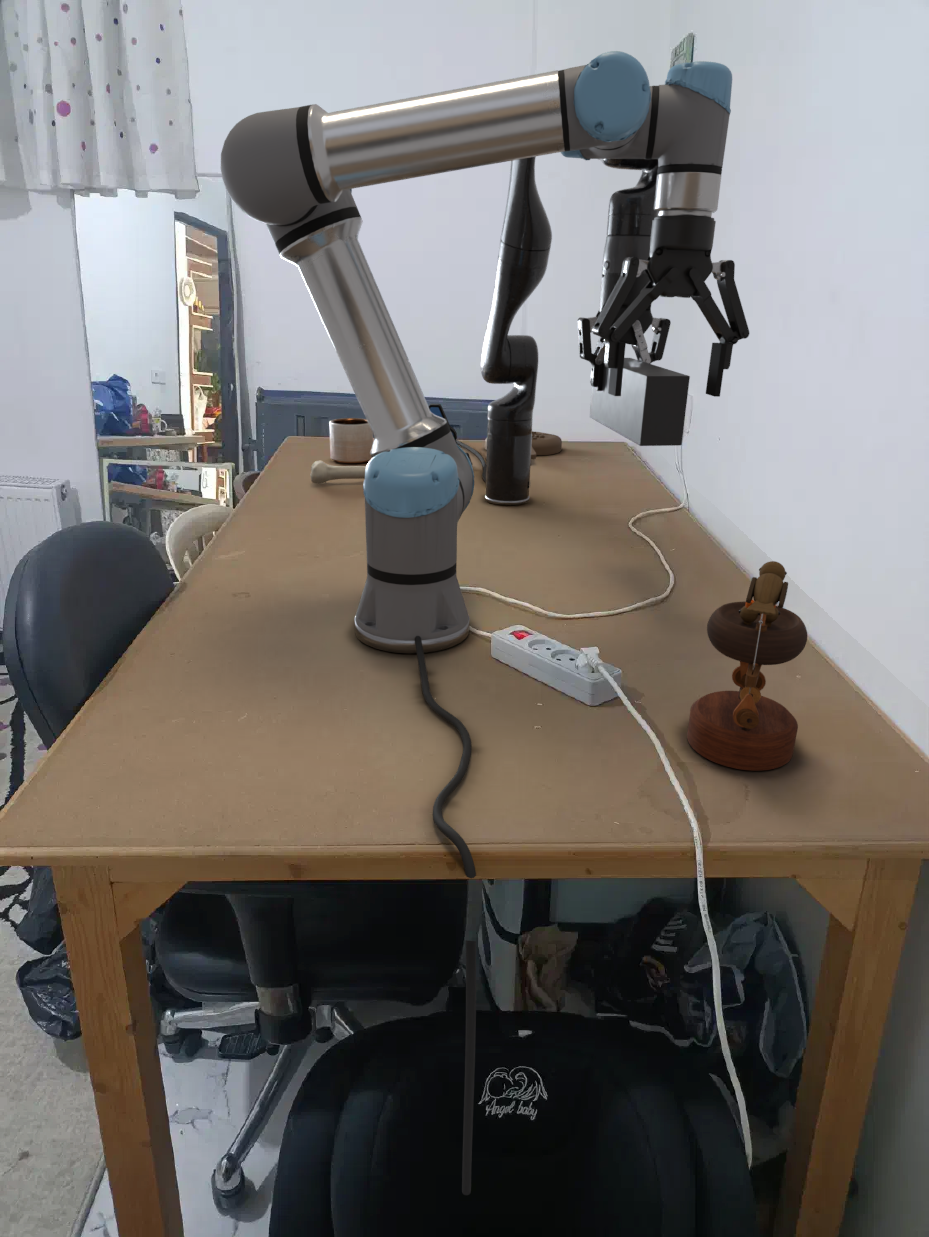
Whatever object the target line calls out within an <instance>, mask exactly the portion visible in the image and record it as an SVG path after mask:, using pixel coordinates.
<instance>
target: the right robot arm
mask: <svg viewBox="0 0 929 1237" xmlns="http://www.w3.org/2000/svg"><path fill="white" fill-rule="evenodd" d="M536 157H537V156H535V157H530V158H524V159H518V160H512V161H510V170H509V182H508V190H507V197H506V205H505V211H504V216H503V222H502V228H501V235H500V240H499V247H498V255H497V261H496V262H497V263H496V272H495V279H494V280H495V281H494V286H493V294H492V300H491V305H490V310H489V315H488V319H487V323H486V328H485V333H484V338H483V342H482V346H481V352H480V372H481V373H480V374H481V377H482V379H483V380H484V382H486V383H488V384H492V385H502V384H503V385H509V384H513V385H512V388H511V389H510V391H509V392H508V393H506V394H505V395H503V396H501V397H499V398H497V399H495V400H493V401H491V402H489V403H488V405H487V415H486V416H487V417H486V418H487V422H486V438H487V450H486V458H484V456H483V455H481V453H479V451H477V450H476V449H475V448H473V447H471V445H470V446H469V445H468V444H466V443H464V442H462V441H460V440H458V439H456V441H457V444H458V446H459V447H461V448H464V449H466V450H468V451H470V452H471V453H473V455H475V456H476V457H477V458H478V459H479V460H480V462H481V465H482V474H481V477H482V479H483V481H484V483H485V494H484V500H485V502H487V503H490V504H494V505H500V506H520V505H524V504H527V503H529V502H530V486H531V481H532V480H531V462H532V461H531V460H532V459H531V443H532V432H533V417H534V414H533V413H534V408H535V403H536V393H537V381H538V372H539V348H538V347H539V346H538V343H537V341H536V339H535V337H533V336H531V335H528V334H509V333H510V329H511V326H512V323H513V322H514V319H515V317H516V315H517V313H518V312H519V310H520V309H521V308H522V306H523V305H524V304H525V302H526V301H527V300H528V299H529V298H530V296H532V294H533V293H534V291H536V289H537V287H538V286H539V284H541V282H542V281H543V278H544V277H545V274H546V272H547V268H548V264H549V258H550V254H551V253H550V252H551V249H552V248H551V247H552V242H553V231H552V226H551V223H550V220H549V217H548V214H547V212H546V210H545V207H544V204H543V202H542V199H541V197H540V193H539V191H538V187H537V182H536V171H535V170H536V159H537V158H536ZM598 161H600V162H601V163H602V164H603V165H604V166H605V167H608V168H612V169H616V170H629V171H641V174H640V176H639V179H638V182H637V183H636V184H635V186H633V187H628V188H623V189H619V190H617V191H614V192H613V193H612V194H611V195H610V198H609V202H608V209H607V210H608V212H607V222H606V223H607V225H606V238H605V243H604V248H603V254H602V266H601V279H600V280H601V281H600V292H599V294H600V295H599V308H598V310H597V313H596V315H595V316H590V317H584V316H582V317H579V318H578V319H577V321H576V324H577V339H578V340H577V341H578V354H579V358H580V359H582V360H585V361H586V362H589V363H590V380H589V383H590V386H591V387H592V386H593V387H594V390H596V391H601V390H602V383H603V370H604V366H603V365H602V363H603V361H604V357H605V346H606V342H605V340H604V338H602V337H600V336H599V339H598V341H597V343H596V346H595V349H594V350H593V351H592V337H591V336H592V335H591V333H593V332H592V328H593V326H594V324H595V322H596V321H597V319H598V317H599V315H600V313H601V311H602V309H603V308H604V306H605V304H606V302H607V300H608V298H609V296H610V295H611V293H612V291H613V289H614V287H615V285H616V283H617V282H618V280H619V278H620V276H621V271H622V266H623V261H624V259H625V258H626V257H637V258H638V259H641V260H647V259H648V257H649V254H650V240H651V230H652V220H654V218H655V217H658V212H656V211H655V210H654V202H655V192H656V182H657V172H658V159H598ZM649 281H650V280H649V278H648V276H647V274H646V272H645V270H643V271H642V273H641V275H640V276H639V277H636V279H635V282H634V284H633V286H632V288H631V290H630V292H629V293H628V295H627V297H626V299H625V301H624V303H623V304H622V306H621V308H620V310H619V312H618V314H617V315H616V317H615V319H614V321H613V323H612V325H613V324H614V323H615V322H616V321H617V320H618V318H619V317H620V316H621V315H622V314H623V313H624V311H625V310H626V309H627V308H628V307H629V306H630V305H631V303H632V302H633V301H634V300H635V299H636V298H637V296H638V295H639V294H640V292H641V290H642V289H643V288H644V287H645V285H646V284H647V283H648V282H649ZM652 304H653V302H652V303H651V304H650V305H649V307H648V308H647V309H646V310H645V311H644V312H643V314H642V315H641V316H640V317H639V318H638V319H637V320H636V322H635V323H634V324H633V325H632V326H631V327H630V328H629V330H628V331H627V332H626V333H625V334H624V335H623V336H622V338H621V339H620V340H619V341H620V342H624V343H626V344H627V345H631V348H632V350H633V351H634V354H635V357H636V360H639V361H642V362H645V363H649V364H652V363H654V362H657V361H661V360H662V359H663V357H664V353H665V349H666V345H667V341H668V340H667V339H668V335H669V332H670V327H671V325H672V324H671V319H669V318H665V317H654V316H653V313H652ZM612 325H611V326H612ZM611 326H610V328H611ZM650 327H651V328H652V329H651V330H652V332H653V337H652V341H651V345H650V349H648V343H647V341H646V337H645V335H644V334H645V333H646V332H647V331H648V329H649V328H650ZM610 328H609V329H610ZM485 459H486V461H485Z"/></svg>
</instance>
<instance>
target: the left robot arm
mask: <svg viewBox="0 0 929 1237" xmlns="http://www.w3.org/2000/svg"><path fill="white" fill-rule="evenodd" d="M732 87H733V73H732V71H731V69H730V68H729V67H728V66H727V65H726V64H724V63H721V62H716V61H704V60H703V61H701V60H699V61H698V60H697V61H692V62H687V61H686V62H682V63H678V64H674V65H673V66H671V67H670V68H669V70H668V71H667V75H666V79H665V81H664V84H658V85H650V80H649V78H648V74H647V71H646V69H645V68H644V66H643V64H642V62H640V61H639V60H638V59H637V58H636V57H634V56H633V55H631V54H629V53H627V52H624V51H618V50H611V51H607V52H603V53H601V54H599V55H597V56H596V57H595V58H593V59H591V60H590V61H589V63H586V64H584V65H579V66H573V67H568V68H564V69H560V70H552V71H546V72H540V73H536V74H530V75H525V76H520V77H519V76H518V77H514V78H509V79H503V80H498V81H493V82H487V83H482V84H476V85H471V86H466V87H460V88H455V89H450V90H444V91H439V92H433V93H427V94H423V95H417V96H411V97H406V98H400V99H395V100H389V101H383V102H379V103H374V104H369V105H363V106H358V107H354V108H353V107H352V108H347V109H342V110H337V111H336V110H335V111H331V112H327V111H326V110H325V109H324V108H323V107H321V105H319V104H317V103H313V104H308V105H303V106H296V107H290V108H282V109H281V108H280V109H273V110H267V111H260V112H256V113H255V112H254V113H252V114H250V115H248V116H245V117H244V118H242V119H240V120H239V121H238V122H237V123H235V125H234V126H233V127H232V128H231V129H230V130H229V132H228V134H227V136H226V138H225V140H224V142H223V145H222V149H221V152H220V173H221V178H222V182H223V185H224V188H225V190H226V192H227V194H228V196H229V198H230V199H231V201H232V202H233V203H234V204H235V206H236V207H237V208H238V209H239V210H240V211H241V212H242V213H244V214H245V215H246V216H248V217H249V218H250V219H253V221H256V222H259V223H261V224H265V226H266V229H267V230H268V233H269V235H270V237H271V239H272V241H273V243H274V245H275V248H276V250H277V252H278V254H279V256H280V258H281V259H283V260H285V261H287V262H289V263H291V264H293V265H295V266H296V267H298V270H299V272H300V274H301V277H302V279H303V281H304V283H305V286H306V288H307V291H308V292H309V294H310V297H311V300H312V301H313V304H314V306H315V308H316V311H317V312H318V315H319V317H320V320H321V322H322V324H323V325H324V328H325V330H326V333H327V335H328V337H329V339H330V342H331V344H332V345H333V348H334V350H335V353H336V355H337V357H338V359H339V361H340V364H341V366H342V368H343V370H344V372H345V375H346V378H347V379H348V382H349V384H350V386H351V388H352V391H353V393H354V395H355V397H356V399H357V402H358V404H359V406H360V408H361V411H362V413H363V415H364V417H365V419H367V422H368V424H369V426H370V428H371V431H372V433H373V445H372V448H371V451H370V455H371V457H372V459H371V460H370V461H368V463H367V464H366V465H365V466H366V469H365V479H364V480H363V485H362V489H363V490H362V493H363V496H364V515H365V516H364V517H365V518H364V520H365V545H366V546H365V548H366V549H365V550H366V579H365V584H364V586H363V589H362V592H361V596H360V600H359V602H358V606H357V609H356V612H355V615H354V633H355V636H356V638H357V639H358V640H359V641H360V642H362V643H363V644H365V645H367V646H368V647H371V648H374V649H377V650H380V651H384V652H390V653H396V654H397V653H398V654H416V657H417V663H418V670H419V676H420V682H421V691H422V695H423V697H424V700H425V702H426V703H427V705H428V706H429V707H430V709H431V710H432V711H433V712H434V713H435V714H436V715H438V716H439V717H441V718H442V719H443V720H445V721H447V722H448V723H449V724H450V725H452V726H453V727H454V728H455V729H456V730H457V732H458V733H459V735H460V737H461V740H462V753H461V758H460V761H459V765H458V768H457V770H456V773H455V774H454V775H453V777H452V778H451V779H450V781H449V782H448V783H447V784H446V785H445V786H444V787H443V788H442V789H441V791H440V792H439V793H438V795H437V796H436V798H435V800H434V803H433V806H432V820H433V822H434V824H435V826H436V828H437V829H438V830H439V831H440V832H441V833H442V834H443V835H444V836H445V837H446V838H447V839H448V840H450V842H451V843H453V845H454V846H455V847H456V849H457V850H458V853H459V855H460V858H461V860H462V864H463V870H464V873H465V876H466V877H467V878H468V879H474V878H475V877H476V876H477V872H476V867H475V862H474V859H473V855H472V853H471V851H470V848H469V846H468V844H467V842H466V841H465V840H464V839H463V837H462V836H461V834H460V833H458V832H457V831H456V830H455V829H454V828H453V827H451V825H450V824H448V823H447V822H446V821H445V819H444V817H443V808H444V805H445V803H446V801H447V799H449V797H450V796H451V795H452V794H453V792H454V791H455V790H456V789H457V787H458V786H459V785H460V784H461V783H462V781H463V780H464V778H465V776H466V774H467V771H468V768H469V764H470V761H471V755H472V748H473V746H472V739H471V736H470V733H469V731H468V729H467V728H466V726H465V725H464V724H463V722H462V721H461V720H460V719H459V718H457V717H456V716H455V715H453V714H452V713H451V712H449V711H448V710H446V709H444V708H443V707H442V706H441V705H440V704H438V702H436V700H435V699H434V697H433V695H432V692H431V688H430V680H429V676H428V670H427V665H426V659H425V653H433V652H439V651H443V650H446V649H449V648H452V647H455V646H457V645H458V644H460V643H462V642H463V641H464V640H466V639H467V637H468V636H469V634H470V615H469V612H468V608H467V606H466V601H465V599H464V596H463V593H462V589H461V586H460V583H459V581H458V577H457V561H458V560H457V559H458V558H457V557H458V556H457V554H458V523H459V520H460V519H461V517H462V516H463V514H464V512H465V511H466V509H467V508H468V506H469V504H470V503H471V499H472V497H473V495H474V488H475V473H474V468H473V465H471V462H472V461H471V462H470V460H469V458H468V456H467V455H466V453H467V452H466V451H465V450H464V449H463V448H462V446H460V445H457V444H456V442H455V440H454V437H453V435H452V433H451V430H450V428H449V426H448V423H447V421H446V419H444V418H441V417H439V416H437V415H434V414H433V413H432V412H431V411H430V409H429V404H428V402H427V399H426V397H425V395H424V393H423V390H422V388H421V386H420V383H419V380H418V378H417V376H416V374H415V371H414V369H413V367H412V364H411V361H410V359H409V357H408V355H407V352H406V350H405V348H404V345H403V343H402V340H401V338H400V336H399V334H398V331H397V328H396V325H395V324H394V322H393V319H392V317H391V314H390V311H389V310H388V307H387V305H386V303H385V300H384V298H383V295H382V293H381V291H380V289H379V286H378V284H377V282H376V279H375V277H374V274H373V272H372V270H371V267H370V265H369V263H368V260H367V258H366V255H365V253H364V251H363V249H362V247H361V243H360V241H359V234H360V231H361V229H362V225H363V223H364V222H363V218H362V216H361V214H360V211H359V209H358V207H357V203H356V201H355V199H354V196H353V189H358V188H359V189H360V188H365V187H369V186H375V185H381V184H382V185H383V184H387V183H393V182H399V181H403V180H411V179H415V178H421V177H426V176H431V175H438V174H443V173H449V172H454V171H455V172H456V171H461V170H467V169H473V168H479V167H483V166H489V165H495V164H500V163H505V162H511V161H512V160H518V159H524V158H530V157H535V156H536V157H540V156H547V155H552V154H557V153H560V154H561V156H563V157H565V158H571V159H582V160H584V161H591V160H599V159H658V172H657V182H656V192H655V202H654V210H655V211H656V212H658V217H655V218H654V220H652V230H651V240H650V254H649V257H648V259H647V260H641V259H638V258H637V257H626V258H625V259H624V261H623V266H622V271H621V276H620V278H619V280H618V282H617V283H616V285H615V287H614V289H613V291H612V293H611V295H610V296H609V298H608V300H607V302H606V304H605V306H604V308H603V309H602V311H601V313H600V315H599V317H598V319H597V321H596V322H595V324H594V326H593V328H592V332H591V333H592V334H593V335H595V336H598V337H599V338H600V337H602V338H604V340H605V342H606V346H605V357H604V365H605V367H607V368H610V378H609V389H608V393H609V394H611V395H613V396H621V387H622V377H623V366H624V358H625V354H626V343H624V342H620V341H619V340H620V339H621V338H622V336H623V335H624V334H625V333H626V332H627V331H628V330H629V328H630V327H631V326H632V325H633V324H634V323H635V322H636V320H637V319H638V318H639V317H640V316H641V315H642V314H643V312H644V311H645V310H646V309H647V308H648V307H649V305H650V304H651V303H652V304H653V302H654V301H656V300H658V298H659V297H660V298H676V297H677V298H683V299H690V298H691V299H692V300H693V301H694V302H695V304H696V305H697V307H698V308H699V310H700V312H701V313H702V315H703V317H704V318H705V320H706V322H707V323H708V325H709V327H710V328H711V330H712V332H713V333H714V335H715V336H716V338H717V340H718V341H719V342H712V343H711V350H710V357H709V365H708V372H707V380H706V388H705V395H708V396H711V397H715V398H718V397H719V398H720V397H721V390H722V384H723V377H724V370H729V369H730V367H731V361H732V354H733V349H734V345H737V343H738V342H739V341H740V340H743V339H744V340H745V339H747V338H749V336H750V329H749V325H748V322H747V319H746V316H745V312H744V308H743V306H742V305H743V304H742V302H741V298H740V295H739V291H738V288H737V285H736V280H735V267H736V264H735V261H734V260H732V259H722V260H719V261H715V262H713V261H712V251H713V246H714V237H715V230H716V222H717V221H716V220H715V217H713V216H712V215H713V214H715V213H717V211H718V209H719V208H718V207H719V201H720V200H719V199H720V190H721V183H722V173H723V165H724V160H725V159H724V158H725V151H726V144H727V138H728V131H729V124H730V123H729V122H730V115H731V112H732V110H731V109H732V108H731V102H732ZM643 270H645V272H646V274H647V276H648V278H649V280H650V281H649V282H648V283H647V284H646V285H645V287H644V288H643V289H642V290H641V292H640V294H639V295H638V296H637V298H636V299H635V300H634V301H633V302H632V303H631V305H630V306H629V307H628V308H627V309H626V310H625V311H624V313H623V314H622V315H621V316H620V317H619V318H618V320H617V321H616V322H615V323H614V324H613V325H612V323H613V321H614V319H615V317H616V315H617V314H618V312H619V310H620V308H621V306H622V304H623V303H624V301H625V299H626V297H627V295H628V293H629V292H630V290H631V288H632V286H633V284H634V282H635V279H636V277H639V276H640V275H641V273H642V271H643ZM711 274H712V275H713V279H714V280H716V284H717V288H718V291H719V294H720V295H719V296H720V298H721V299H720V300H721V301H722V306H723V308H724V312H725V315H726V318H725V316H724V315H723V313H722V311H721V309H720V308H719V306H718V304H717V303H716V301H715V299H714V298H713V296H712V292H711V290H710V288H709V287H708V285H707V284H706V282H705V281H707V279H708V278H709V276H710V275H711ZM652 304H651V305H652ZM611 325H612V326H611ZM610 326H611V328H610ZM609 328H610V329H609ZM604 340H603V341H604ZM462 449H463V450H462ZM476 1022H477V941H476V940H465V1046H464V1048H465V1049H464V1051H465V1054H464V1055H465V1056H464V1091H463V1092H464V1093H463V1094H464V1095H463V1124H462V1126H463V1128H462V1162H461V1164H462V1165H461V1166H462V1168H461V1169H462V1170H461V1178H462V1180H461V1192H462V1195H464V1196H469V1195H470V1194H471V1193H472V1192H471V1191H472V1163H473V1162H472V1157H473V1129H474V1128H473V1127H474V1098H475V1097H474V1096H475V1071H476V1070H475V1068H476V1032H477V1030H476V1029H477V1028H476V1026H477V1024H476Z"/></svg>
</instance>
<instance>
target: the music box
mask: <svg viewBox="0 0 929 1237" xmlns="http://www.w3.org/2000/svg"><path fill="white" fill-rule="evenodd" d="M758 571H759V573H758V574H759V576H758V577H757V576H752V578H751V580H750V583H749V587H748V591H747V595H746V598H745V601H733V602H728V603H725V604H722V605H720V606H718V607H717V608H716V609H715V610H714V611H713V612H712V613H711V614H710V616H709V618H708V621H707V624H706V633H707V637H708V640H709V642H710V643H711V645H712V646H713V648H715V650H716V651H717V652H719V653H721V655H723V656H725V657H727V658H728V659H729V658H730V659H732V660H735V661H738V662H739V665H738V666H736V667H735V668H734V669H733V671H732V673H731V679H732V682H733V684H735V686H737V687H739V689H738V690H720V691H719V690H718V691H714V692H710V693H707V694H705V695H703V696H701V697H699V698H697V699H696V700H695V701H694V702H693V703H692V704H691V707H690V710H689V711H690V712H689V718H688V726H687V734H686V737H687V741H688V744H689V745H690V747H691V748H692V749H693V750H694V751H695V752H696V753H697V754H699V755H700V756H702V757H704V758H705V759H707V760H709V761H711V762H713V763H715V764H718V765H720V766H723V767H728V768H731V769H737V770H741V771H753V772H754V771H755V772H756V771H760V772H761V771H769V770H774V769H778V768H781V767H783V766H785V765H786V764H788V763H789V762H790V761H791V759H793V756H794V750H795V746H796V745H795V744H796V740H797V733H798V729H799V723H798V721H797V719H796V718H795V716H794V715H793V713H791V712H790V711H789V710H788V708H786V707H785V706H784V705H782V704H781V703H779V702H777V701H776V700H774V699H771V698H769V697H766V696H764V695H762V692H761V691H762V690H763V689H764V688H765V686H766V681H767V680H766V677H765V675H764V673H762V671H761V669H762V666H775V665H780V664H781V665H782V664H785V663H788V662H790V661H792V660H794V659H795V658H797V657H798V656H800V655H801V654H802V653H803V651H804V649H805V647H806V645H807V642H808V630H807V627H806V624H805V622H804V620H802V618H801V617H800V616H799V615H798V614H797V613H795V612H793V611H791V610H789V609H787V608H785V607H784V605H785V602H786V598H787V594H788V588H789V582H788V581H784V580H785V578H786V575H788V572H787V571H786V569H785V567H784V565H783V564H782V563H780V562H778V561H775V560H770V561H767V562H765V563H764V564H763V565H761V567H760V568H759V569H758ZM777 604H778V605H777Z"/></svg>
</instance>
